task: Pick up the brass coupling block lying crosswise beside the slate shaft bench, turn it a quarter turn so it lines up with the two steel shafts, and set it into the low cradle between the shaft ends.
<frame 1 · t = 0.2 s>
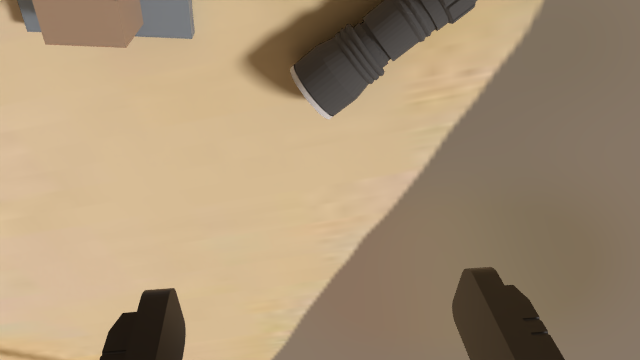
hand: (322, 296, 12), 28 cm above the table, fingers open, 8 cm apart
flashlight: (373, 27, 36), on the table
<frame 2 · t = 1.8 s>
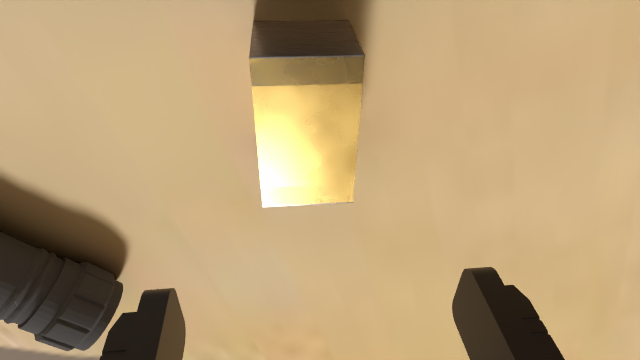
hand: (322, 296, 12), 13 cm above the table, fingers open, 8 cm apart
flashlight: (0, 230, 27), on the table
coupler: (302, 94, 22), on the table
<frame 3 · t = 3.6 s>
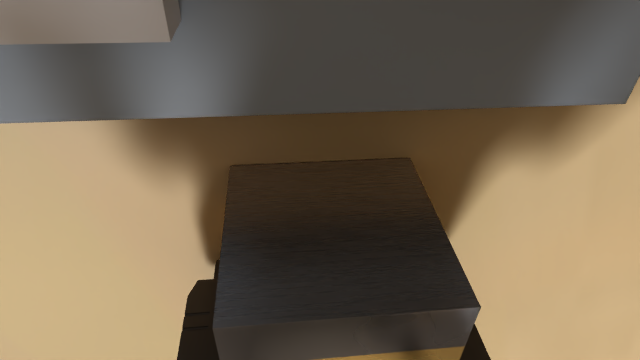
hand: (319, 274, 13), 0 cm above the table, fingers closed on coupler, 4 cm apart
coupler: (319, 264, 13), on the table, touching gripper
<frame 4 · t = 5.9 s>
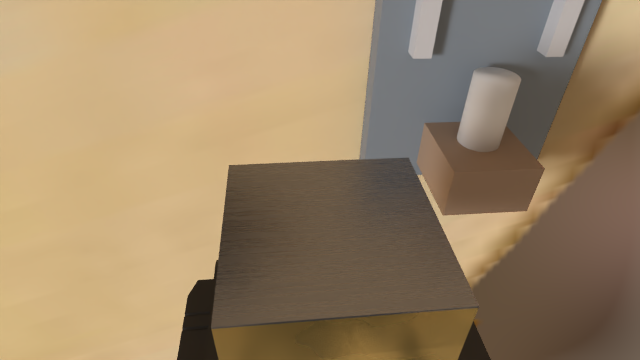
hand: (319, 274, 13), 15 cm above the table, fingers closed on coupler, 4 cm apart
coupler: (318, 263, 13), point 15 cm above the table, touching gripper
when the fingers open (3 cm above the table, at t = 8.7 s): coupler drops 1 cm, resting on shaft bench.
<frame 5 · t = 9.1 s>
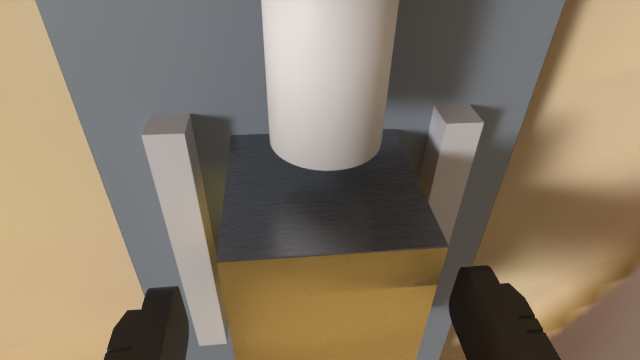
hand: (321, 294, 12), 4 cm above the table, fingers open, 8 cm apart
shaft bench: (309, 201, 15), on the table
coupler: (312, 231, 14), point 1 cm above the table, touching shaft bench
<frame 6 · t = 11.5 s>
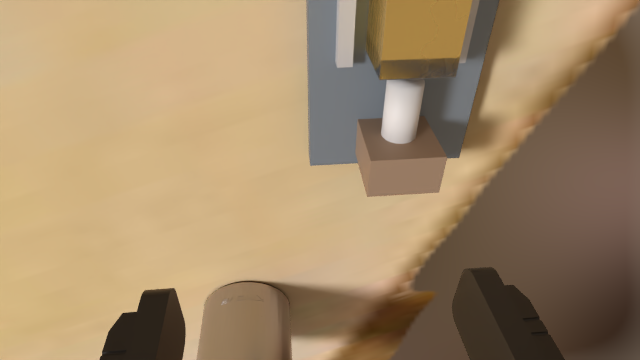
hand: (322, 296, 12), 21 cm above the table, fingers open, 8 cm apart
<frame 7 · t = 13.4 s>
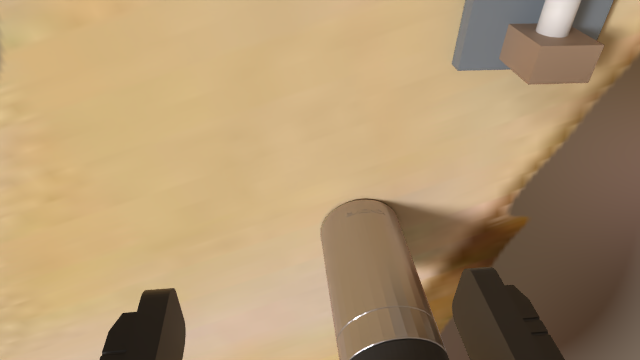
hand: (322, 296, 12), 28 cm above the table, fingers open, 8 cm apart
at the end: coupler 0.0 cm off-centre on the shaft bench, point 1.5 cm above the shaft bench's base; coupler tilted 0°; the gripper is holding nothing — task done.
